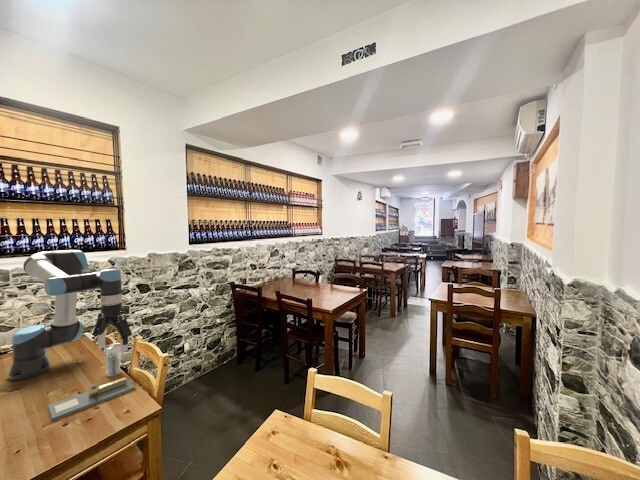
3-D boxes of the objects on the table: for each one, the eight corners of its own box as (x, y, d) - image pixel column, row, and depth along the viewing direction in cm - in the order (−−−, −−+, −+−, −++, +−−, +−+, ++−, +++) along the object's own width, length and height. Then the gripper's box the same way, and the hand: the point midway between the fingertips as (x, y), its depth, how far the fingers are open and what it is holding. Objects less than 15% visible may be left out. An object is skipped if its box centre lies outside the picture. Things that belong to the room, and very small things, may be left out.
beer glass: (112, 378, 137) (111, 349, 136) (101, 376, 138) (100, 347, 137) (125, 371, 144) (124, 343, 143) (114, 369, 145) (113, 342, 144)
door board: (48, 407, 114) (48, 404, 114) (127, 379, 135) (127, 377, 135) (52, 421, 106) (51, 418, 106) (134, 389, 128) (134, 386, 128)
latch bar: (88, 394, 121) (87, 386, 120) (124, 381, 131) (124, 374, 131) (89, 398, 118) (89, 390, 118) (127, 384, 129) (127, 377, 129)
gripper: (82, 303, 121) (84, 349, 122) (124, 307, 114) (125, 357, 115) (100, 299, 128) (101, 343, 129) (140, 303, 122) (141, 349, 122)
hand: (112, 349), depth 122 cm, fingers open, 13 cm apart
